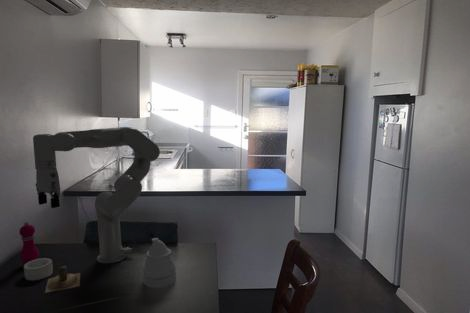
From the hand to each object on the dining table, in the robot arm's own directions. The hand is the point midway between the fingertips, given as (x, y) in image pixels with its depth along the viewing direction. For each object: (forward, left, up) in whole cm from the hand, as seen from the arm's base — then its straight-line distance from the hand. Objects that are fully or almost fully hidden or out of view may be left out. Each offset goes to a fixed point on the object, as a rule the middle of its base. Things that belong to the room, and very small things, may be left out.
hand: (49, 205), depth 143 cm
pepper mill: (+11, -15, -30) cm, 36 cm away
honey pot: (-40, +24, -30) cm, 55 cm away
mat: (-4, +11, -30) cm, 32 cm away
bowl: (+6, -1, -30) cm, 31 cm away
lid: (-4, +11, -29) cm, 32 cm away
